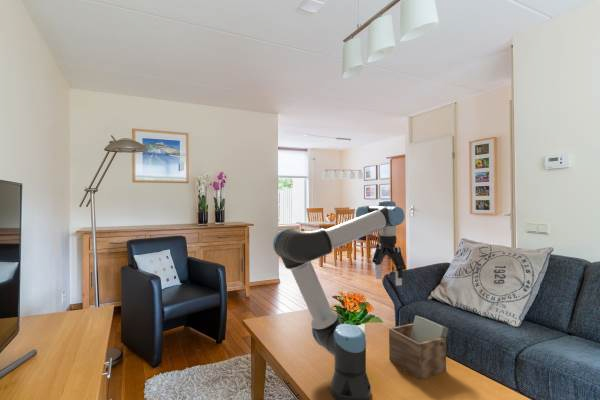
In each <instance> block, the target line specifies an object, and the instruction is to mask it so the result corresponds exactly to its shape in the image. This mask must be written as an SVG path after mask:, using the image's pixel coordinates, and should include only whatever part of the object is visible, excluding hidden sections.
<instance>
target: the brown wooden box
mask: <svg viewBox="0 0 600 400" xmlns="http://www.w3.org/2000/svg"><path fill="white" fill-rule="evenodd" d="M412 326H413V322H412V323H409V324H404V325H399V326H395V327H394V326H393V327H390V328H388V347H389V348H388V349H389V351H388V354H389V355H388V356H389V357H388V359H389V360H390V361H391V362H392V363H394V364H395V365H397V366H398V367H400V368H401V369H402V370H404V371H405V372H407V373H409V374H411V376H413V377H414V378H416V379H418V380H419V381H420V380H424V379H426V378H429V377H433V376H435V375H439V374H442V373H444V372H447V341H446V340H447V337H446V338H445V337H441V338H437V339H433V340H430V341H426V342H422V343H418V342H416V341H414V340H412V339H410V334H411V330H412Z"/></svg>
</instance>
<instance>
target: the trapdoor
mask: <svg viewBox="0 0 600 400" xmlns="http://www.w3.org/2000/svg"><path fill="white" fill-rule="evenodd" d="M412 323H413V326H412V330H411V334H410V339H412V340H414V341H416V342H418V343H422V342H426V341H430V340H433V339H437V338H441V337H445V338H446V339H447V336H448V331H449V327H446V326H444V325H441V324H439V323H437V322H434V321H433V320H430V319H427V318H425V317H422V316H419V315H414V319H413V322H412Z"/></svg>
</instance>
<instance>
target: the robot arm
mask: <svg viewBox="0 0 600 400" xmlns="http://www.w3.org/2000/svg"><path fill="white" fill-rule="evenodd" d="M404 221H405V211H404V210H403V208H402V207H400V206H397V204H396V201H394V200H385V201H384V200H382V201H381V200H380V201H379V202H378V205H362V206H361V205H360V206H358V207H357V209H356V211H355V218H353V219H350V220H348V221H347V220H346V221H344V222H342V223H340V224H336V225H334V226H331V227H329V228H326V229H324V228H318V229H316V230H309V231H307V230H306V231H304V230H298V229H295V228H291V227H290V228H284V229H281V230H279V231H278V232H277V233H276V235H275V236H274V238H273V242H272V246H273V250H274V252H275V254H277V256H279V257H280V258H281V261H282V263H283V266H285V267H284V268H286V269H287V270H290V271H291V273H292V276H293V278H294V280H295V282H296V284H297V287H298V289H299V292H300V294H301V296H302V298H303V300H304V303H305V304H306V307H307V310H308V312H309V314H310V316H311V319H312V320H311V322H310V323H311V334H312V337H313V339H314V341H315V342H316V343H317V344H318V345H320V346H321V347H322V348H324V349H325V350H326V351H327V352H329V353H330V354H331V355H332V356H333V357H334V371H333V374H332V378H331V381H330V387H329V388H330V389H329V390H330V392H329V393H330V394H331V396H332V397H333V398H334V399H335V400H369V399H370V398H371V396H372V386H371V383H370V379H369V378H368V374H367V339H366V335H365V331H364V329H362V328H361V327H359V326H358V325H355V324H353V325H352V324H350V323H342V322H341V321H342V320H341V319H340V316H339V315H338V312H337V311H335V310H333V309H332V307H331V305H330V303H329V300H328V299H327V296H326V294H325V291H324V289H323V287H322V284H321V283H320V280H319V278H318V275H317V272H316V271H315V268H314V266H313V263H312V262H313V261H315V260H317V259H320V258H322V257H324V256H327V255H329V254H331V253H332V252H333V250H334V249H337V248H340V247H342V246H343V245H347V244H348V243H351V242H354V241H355V240H358V239H360V238H361V239H362V238H363V237H366V236H368V235H371V234H372V233H375V232H376V231H379V232H378V234H379V237H378V238H379V239H378V240H379V243H377V244H376V245H375V246H376V247H375V251H374V254H373V257H372V260H371V261H372V263H374V265H375V278H376V280H379V279H382V278H383V277H382V276H383V275H382V267H383V266H382V262H383V260H384V258H385V257H386V256H387V257H389V258H390V259H391V261H392V263H393V265H394V267H395V269H396V270H395V286H397V287H399V286H403V283H402V282H403V281H402V278H403V271H404V270H407V266H406V264H405V261H404V258H403V254H402V251H401V247H400V246H396V244H397V243H398V242H397V241H398V240H397V239H398V238H397V226H400V225H402V224H403V222H404Z"/></svg>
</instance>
